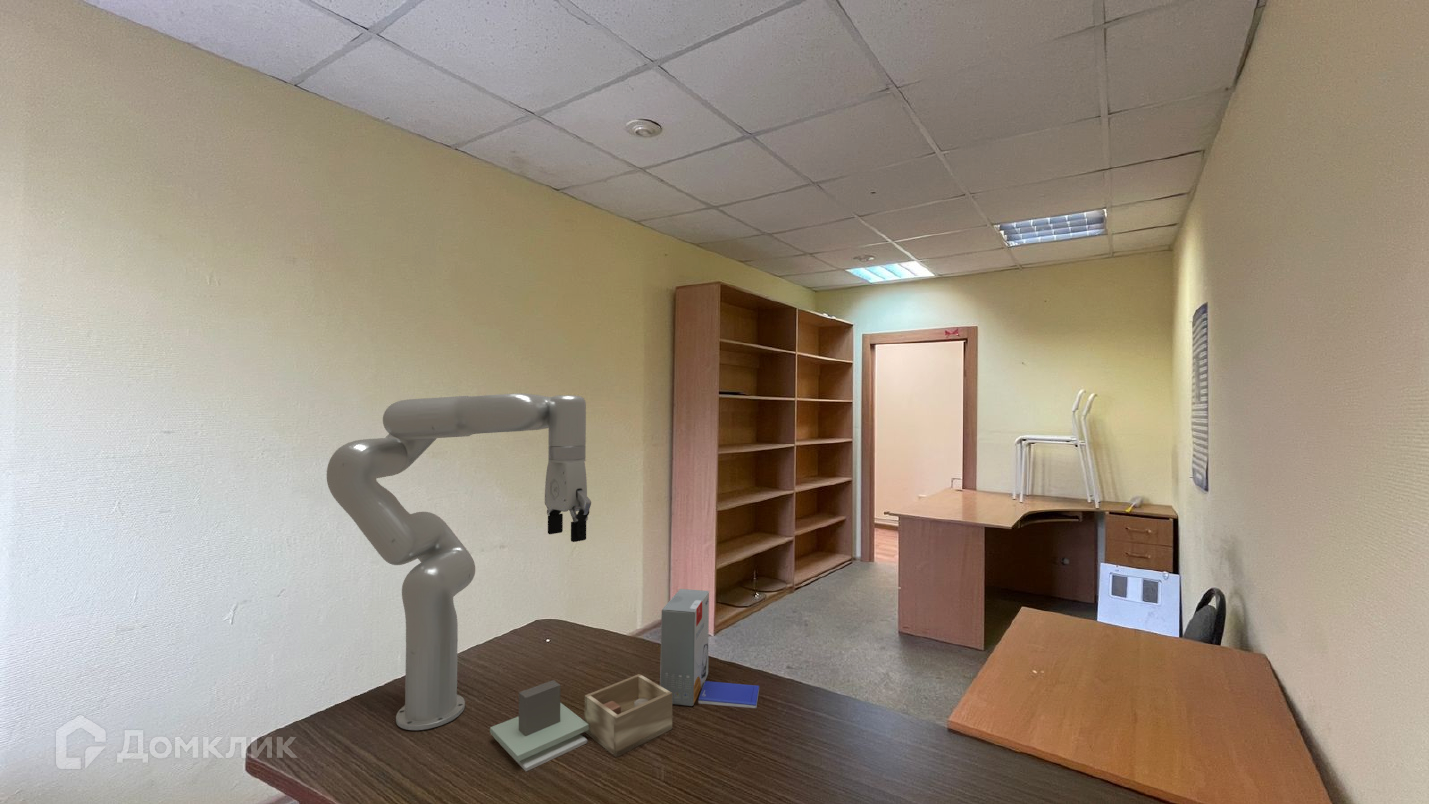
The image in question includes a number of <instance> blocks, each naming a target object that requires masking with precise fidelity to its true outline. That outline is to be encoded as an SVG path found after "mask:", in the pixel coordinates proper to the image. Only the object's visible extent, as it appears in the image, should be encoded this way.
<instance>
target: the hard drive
mask: <svg viewBox="0 0 1429 804" xmlns="http://www.w3.org/2000/svg"><path fill="white" fill-rule="evenodd" d="M759 692H760V685H755V684H754V685H753V684H741V683H732V682H723V681H722V682H720V681H710V680H705V682H704V684H703V686H702V688H701V690H700V693H699V695H698V704H700V705H703V704H704V705H713V706H725V707H738V708H747V709H749V708H751V709H757V708H758V707H757V706H758V699H759V694H760V693H759Z"/></svg>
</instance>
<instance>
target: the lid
mask: <svg viewBox="0 0 1429 804" xmlns="http://www.w3.org/2000/svg"><path fill="white" fill-rule="evenodd" d="M587 730H589V724H588V723H586V722H585V719H582V718H581V717H580V716H578V715H577V714H576V713H575V712H573V711H572V710H571V709H570V708H568V707H567V706H565V704H563V703H562V702H561V684H560V683H559V682H557V681H556V680H554V679H553V680H550V681H547V682H544V683H542V684H541V683H540V684H538V685H536V686H533V687H530V688H527V689H524V690H522V691H519V692H518V715H517V716H516V717H514V718H511V719H508V720H505V721H503V722H501V723H498V724H495V725H493V726H490V728H489V733H490V734H491V736H494V737H493V739H494V740H495V741H496V740H497V741H498V742H499V743H500V744H501V745H502V746H503V747H504V748H505V749H506V750H507V751H508V752H509V753H510V754H511V755H512V756H511V755H510V754H509V753H508V752H507V751H506V750H505V749H504V748H503V747H502V746H501V745H500V744H499V743H498V742H497V741H496V742H497V743H498V744H499V745H500V746H501V747H502V748H503V749H504V750H505V751H506V752H507V753H508V754H509V755H510V756H511V758H512V757H513V758H514V759H515V760H516V761H517V762H518V761H521V760H523V759H525V758H527V757H529V756H532V755H534V754H536V753H538V752H541V751H543V750H545V749H547V748H549V747H552V746H554V745H556V744H558V743H561V742H563V741H565V740H567V739H569V738H572V737H574V736H576V735H578V734H583V733H585V731H587ZM513 758H512V759H513ZM514 759H513V760H514ZM515 760H514V761H515ZM516 761H515V762H516ZM517 762H516V763H517Z"/></svg>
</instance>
